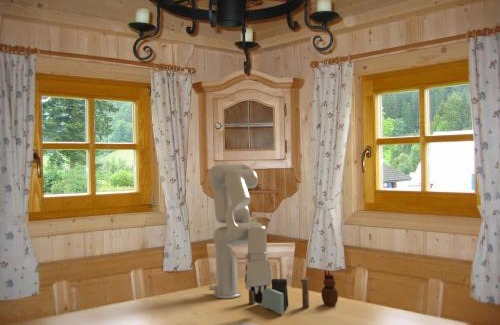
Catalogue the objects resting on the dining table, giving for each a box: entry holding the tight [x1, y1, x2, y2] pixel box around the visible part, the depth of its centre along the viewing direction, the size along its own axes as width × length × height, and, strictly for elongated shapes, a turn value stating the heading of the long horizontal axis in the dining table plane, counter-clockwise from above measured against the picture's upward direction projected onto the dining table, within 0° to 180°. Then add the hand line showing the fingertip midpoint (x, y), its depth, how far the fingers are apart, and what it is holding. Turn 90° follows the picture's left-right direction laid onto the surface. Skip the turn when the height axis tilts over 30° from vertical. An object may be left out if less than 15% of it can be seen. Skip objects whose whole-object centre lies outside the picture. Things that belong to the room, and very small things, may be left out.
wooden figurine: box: [321, 269, 339, 307], centre depth 219 cm, size 7×6×15 cm
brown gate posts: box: [248, 276, 310, 309], centre depth 220 cm, size 26×4×12 cm, turn 71°
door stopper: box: [270, 278, 289, 312], centre depth 217 cm, size 9×6×12 cm, turn 167°
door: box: [257, 286, 285, 315], centre depth 215 cm, size 18×3×8 cm, turn 29°
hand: (258, 302), depth 207 cm, fingers closed
